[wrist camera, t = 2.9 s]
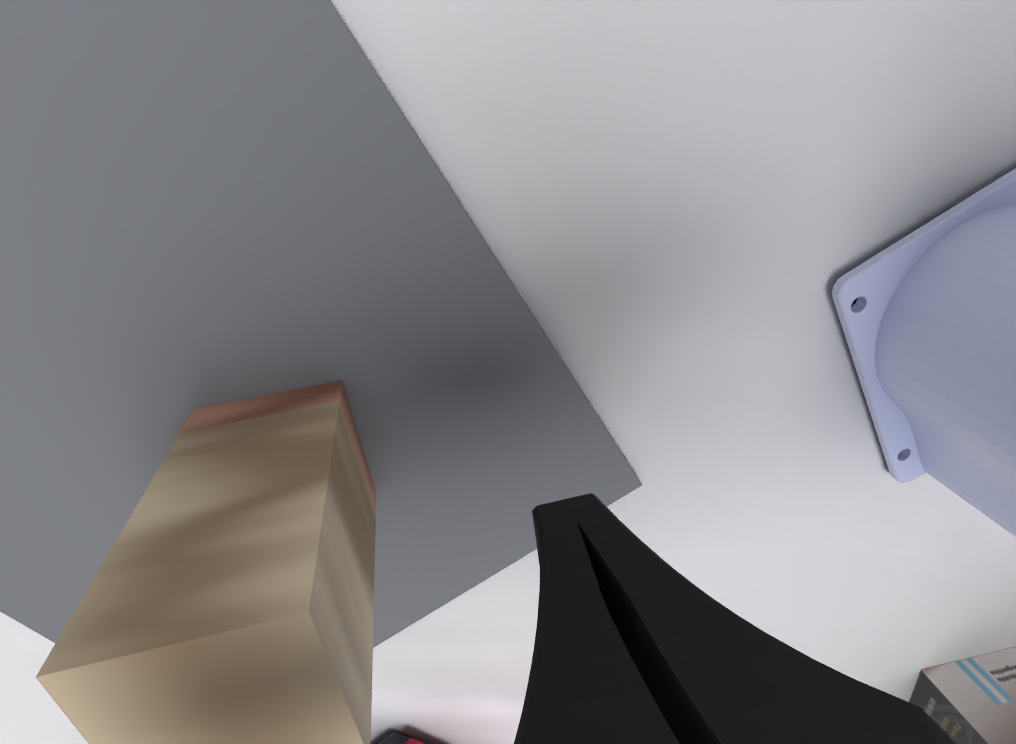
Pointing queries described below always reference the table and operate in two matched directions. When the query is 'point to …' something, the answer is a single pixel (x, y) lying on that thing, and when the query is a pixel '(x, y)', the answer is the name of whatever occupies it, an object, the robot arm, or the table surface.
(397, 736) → the small drawer cabinet
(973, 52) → the table surface
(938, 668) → the cake mix box
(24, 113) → the mat
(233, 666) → the maple block
